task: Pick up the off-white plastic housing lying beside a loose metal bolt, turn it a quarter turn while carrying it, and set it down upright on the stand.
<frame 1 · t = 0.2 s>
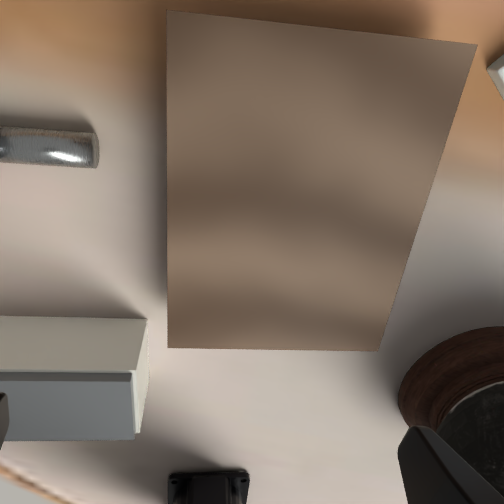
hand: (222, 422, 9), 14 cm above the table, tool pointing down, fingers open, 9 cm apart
bolt: (44, 142, 20), on the table
stand: (287, 197, 22), on the table
housing: (76, 346, 26), on the table
black orb on base: (470, 383, 31), on the table
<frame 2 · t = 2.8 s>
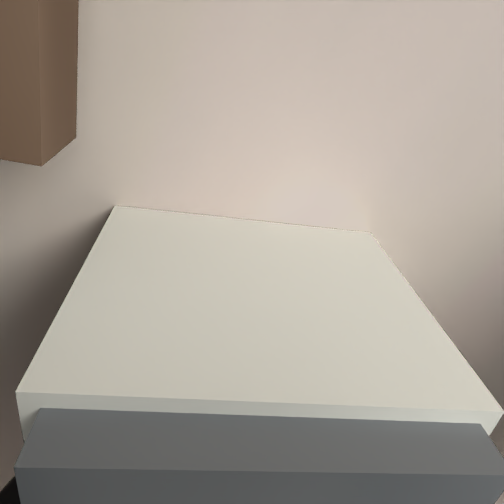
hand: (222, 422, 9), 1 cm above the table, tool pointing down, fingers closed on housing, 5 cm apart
housing: (221, 386, 10), on the table, touching gripper
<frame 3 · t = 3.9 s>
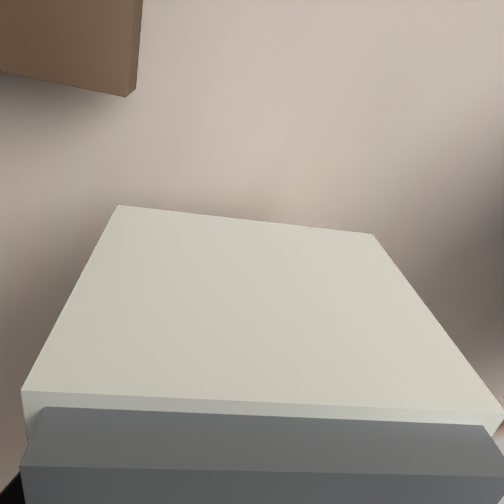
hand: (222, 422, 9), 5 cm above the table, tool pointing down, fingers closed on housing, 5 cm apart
housing: (221, 386, 10), point 4 cm above the table, touching gripper
when the fingers open (5 cm above the table, at t = 7.4 s): housing drops 1 cm, resting on stand.
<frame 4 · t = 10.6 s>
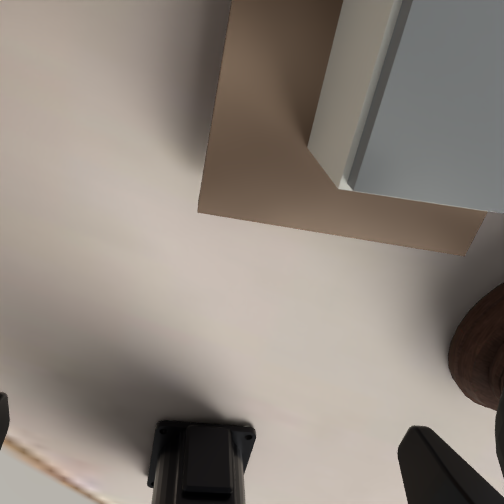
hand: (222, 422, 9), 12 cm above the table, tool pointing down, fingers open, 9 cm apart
stand: (381, 24, 16), on the table
housing: (411, 26, 14), point 3 cm above the table, touching stand
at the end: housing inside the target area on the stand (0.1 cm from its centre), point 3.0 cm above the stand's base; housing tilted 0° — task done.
